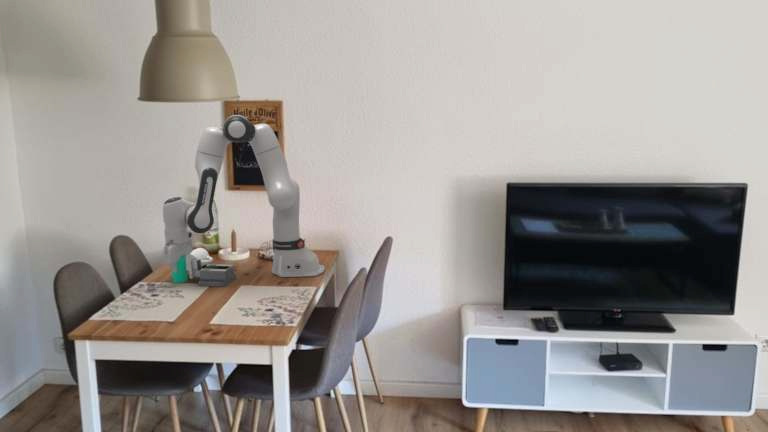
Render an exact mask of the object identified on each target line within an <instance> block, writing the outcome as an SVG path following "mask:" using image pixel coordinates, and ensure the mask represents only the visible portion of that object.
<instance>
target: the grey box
mask: <svg viewBox="0 0 768 432" xmlns="http://www.w3.org/2000/svg"><path fill="white" fill-rule="evenodd" d="M199 272H200V277H199V280H198V286H199V287H215V288H217V287H218V288H222V287H223V288H225V287H227V286H228V285H229V284H230V283H231V282H233V281H234V280H235V279H237V278H236V277H237V276H236V272H235V267H234V264H224V263H223V264H221V263H220V264H219V263H207V264H205V268H201V269H200V271H199Z"/></svg>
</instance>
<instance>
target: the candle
mask: <svg viewBox="0 0 768 432" xmlns="http://www.w3.org/2000/svg"><path fill="white" fill-rule="evenodd" d="M176 265H177V268H178V272H176V273H174V272H173V268H172V267H171V278H172V280H171V281H172V283H174V284H175V283H177V284H181V283H185V282H187V281H188V271H187V268H186V256H185V255H184V256H183V257H182V258H180V260H179V261H178V262H177V264H176Z"/></svg>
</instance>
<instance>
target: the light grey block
mask: <svg viewBox="0 0 768 432" xmlns="http://www.w3.org/2000/svg"><path fill="white" fill-rule="evenodd" d="M188 264H189V271H188V272H189V273H188V274H189V279H190V280H191V279H194V278H196V277H197V278H200V272H199V271H200V269H202V267H201V260H197V258H194V259H192V260H191V261H189V262H188Z"/></svg>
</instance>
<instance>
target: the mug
mask: <svg viewBox="0 0 768 432" xmlns="http://www.w3.org/2000/svg"><path fill="white" fill-rule="evenodd" d="M194 258H197V260H201V268H202V267H203V266H206V265H207V264H211V263H212V262H213V261H214V258H213V257H212V256H210V254H209V252H208V250H206V249H205V248H203V247H197V248H195V249H192V253H190V254H189V255H187V256H186V268H187V272H189V264H188V262H189V261H191V260H192V259H194Z"/></svg>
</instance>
